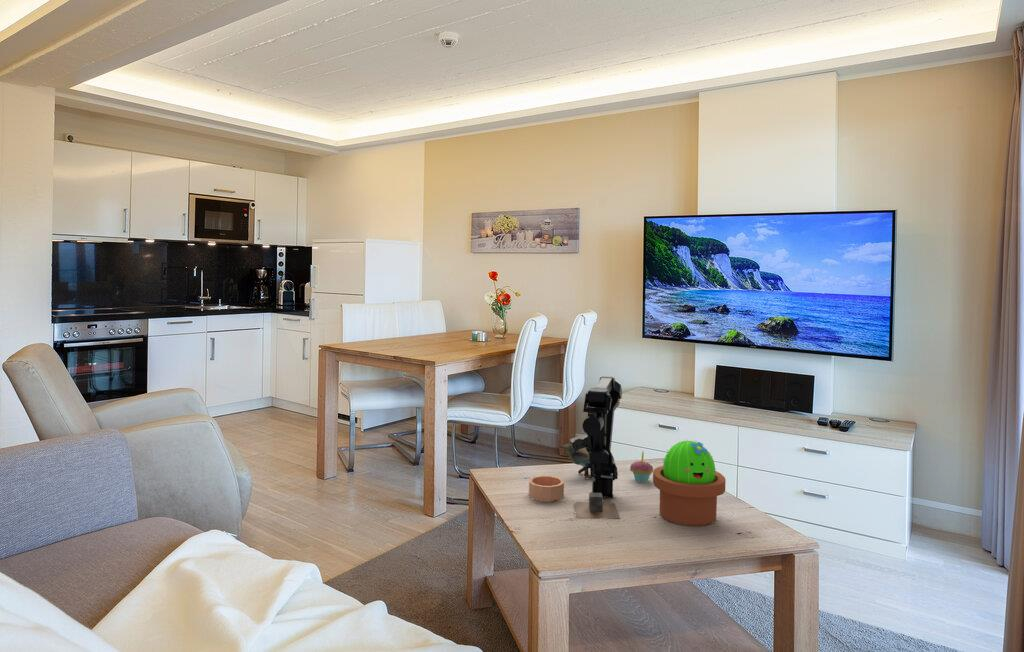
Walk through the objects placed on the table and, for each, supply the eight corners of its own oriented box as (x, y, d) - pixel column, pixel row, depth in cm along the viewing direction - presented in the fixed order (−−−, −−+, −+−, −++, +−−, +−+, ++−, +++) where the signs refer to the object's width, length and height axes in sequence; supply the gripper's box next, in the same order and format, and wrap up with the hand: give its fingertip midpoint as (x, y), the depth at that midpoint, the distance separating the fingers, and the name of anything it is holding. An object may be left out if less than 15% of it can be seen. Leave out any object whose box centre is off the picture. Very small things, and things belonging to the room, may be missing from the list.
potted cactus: (643, 504, 211) (645, 431, 209) (706, 503, 213) (709, 430, 211) (665, 530, 189) (667, 449, 187) (735, 529, 191) (738, 448, 189)
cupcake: (654, 484, 232) (655, 452, 231) (631, 483, 232) (632, 451, 231) (650, 476, 240) (651, 446, 239) (627, 476, 240) (628, 445, 239)
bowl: (562, 489, 224) (563, 476, 224) (564, 501, 212) (564, 487, 212) (529, 488, 225) (529, 475, 224) (528, 500, 213) (528, 486, 212)
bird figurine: (611, 468, 248) (586, 426, 245) (617, 476, 238) (592, 433, 235) (582, 486, 247) (557, 444, 244) (587, 495, 237) (561, 451, 235)
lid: (614, 504, 212) (614, 488, 211) (619, 520, 198) (620, 503, 197) (572, 503, 212) (573, 487, 212) (575, 519, 198) (575, 501, 198)
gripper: (570, 420, 212) (570, 466, 214) (573, 434, 194) (572, 484, 195) (603, 421, 212) (602, 466, 213) (609, 435, 193) (608, 484, 195)
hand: (596, 475), depth 204 cm, fingers open, 9 cm apart
